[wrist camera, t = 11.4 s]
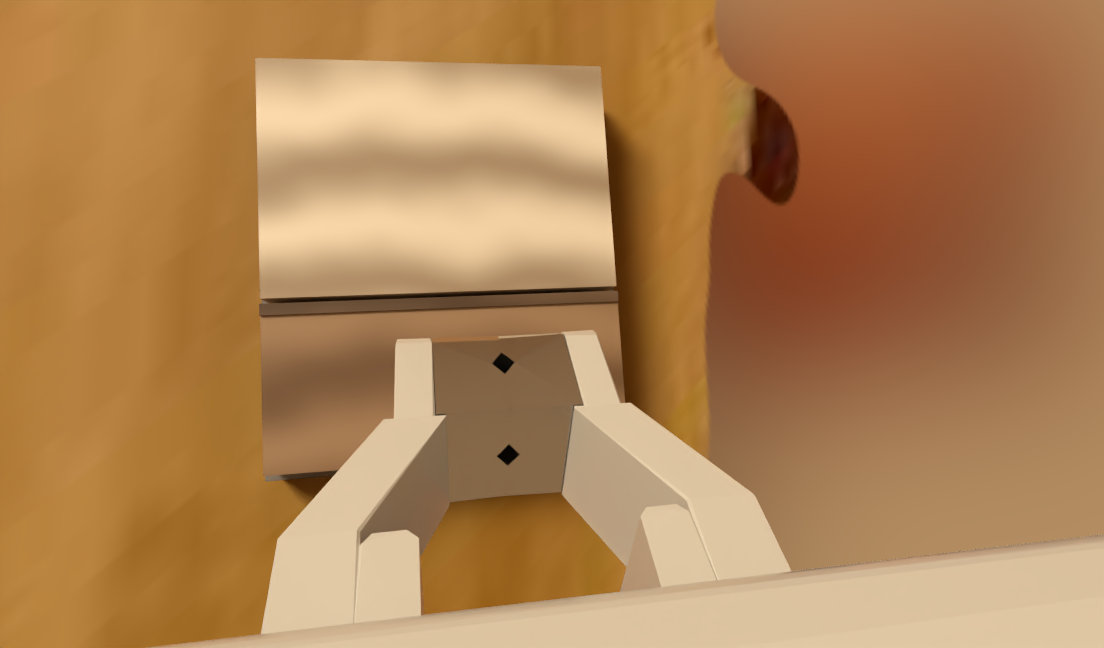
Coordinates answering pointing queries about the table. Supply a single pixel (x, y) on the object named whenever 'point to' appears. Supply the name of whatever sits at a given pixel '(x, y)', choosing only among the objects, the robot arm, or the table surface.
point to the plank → (430, 180)
